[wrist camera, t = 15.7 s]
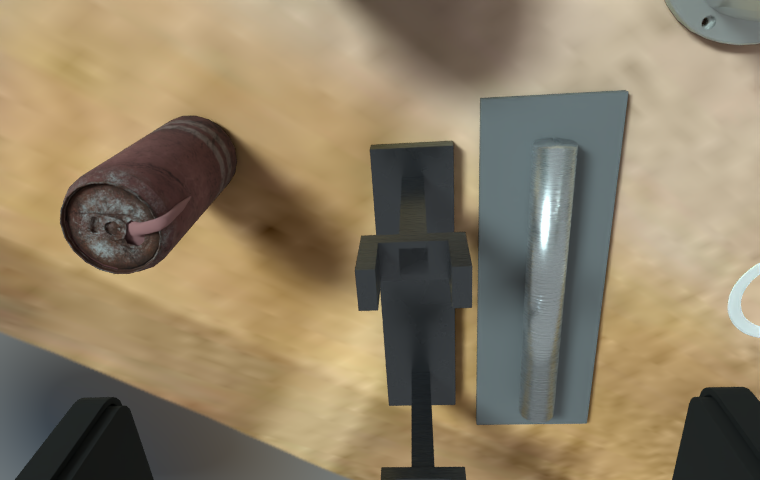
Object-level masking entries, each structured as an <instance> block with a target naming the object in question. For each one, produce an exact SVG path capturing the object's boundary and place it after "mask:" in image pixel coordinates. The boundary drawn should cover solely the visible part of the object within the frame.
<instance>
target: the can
mask: <svg viewBox="0 0 760 480" xmlns="http://www.w3.org/2000/svg"><path fill="white" fill-rule="evenodd" d="M236 164H237V158H236V152H235V148H234V146H233V144H232V142H231V140H230V137H229V136H228V135H227V134H226V133H225V132H224V131H223V129H222V128H221V127H220V126H218V125H216V124H215V123H213V122H212V121H210V120H209V119H205V118H202V117H198V116H181V117H179V118H176V119H173V120H171V121H169V122H168V123H166V124H164V125H163V126H161V127H160V128H158V129H156V130H155V131H153V132H152V133H150V134H148V135H147V136H145V137H144V138H142V139H140V140H139V141H137V142H135V143H134V144H132V145H131V146H129V147H127V148H126V149H124V150H123V151H121V152H119V153H118V154H116V155H115V156H113V157H111V158H110V159H108V160H107V161H105V162H103V163H102V164H100V165H99V166H97V167H95V168H94V169H92V170H91V171H89V172H87V173H86V174H84V175H82V176H81V177H80V178H79V179H78V180H76V181H75V182H74V183H73V184H72V185H71V186H70V187H69V189H68V191H67V194H66V196H65V198H64V200H63V205H62V207H61V213H60V224H61V228H62V231H63V234H64V237H65V239H66V241H67V242H68V244H69V245H70V247H71V248H72V250H73V251H74V252H75V253H76V254H77V255H78V256H79V257H81V258H82V259H83V260H84V261H85V262H86V263H88V264H90V265H92V266H94V267H96V268H97V269H99V270H102V271H106V272H110V273H114V274H130V273H134V272H139V271H142V270H145V269H148V268H151V267H154V266H155V265H156V264H158V263H159V262H160V261H161V260H163V259H164V258H165V257H166V256H167V255H168V254H169V252H170V251H171V250H172V249H173V248H174V247H175V245H176V244H177V243H178V242H179V241H180V240H181V238H182V237H183V236H184V235H185V234H186V233H187V231H188V230H189V229H190V228H191V227H192V226H193V224H194V223H195V222H196V221H197V220H198V219H199V217H200V216H201V215H202V214H203V213H204V212H205V210H206V209H207V208H208V207H209V206H210V205H211V203H212V202H213V201H214V200H215V199H216V198H217V196H218V195H219V194H220V193H221V192H222V191H223V189H224V188H225V187H226V186H227V185H228V184H229V182H230V181H231V179H232V177H233V175H234V174H235V170H236Z"/></svg>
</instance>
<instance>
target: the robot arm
mask: <svg viewBox="0 0 760 480" xmlns="http://www.w3.org/2000/svg"><path fill="white" fill-rule="evenodd" d="M665 2H666V4H667V6H668V8H669V9H670V10H671V12H672V13H673V14H674V16H675V17H676V19H677V20H678V21H679V22H681V23H682V24H683V25H684V26H685V27H686V28H688V29H689V30H690V31H691V32H693V33H695V34H697V35H699V36H701V37H703V38H705V39H709V40H712V41H716V42H719V43H726V44H733V45H751V44H760V0H665ZM704 18H705V19H706V22H705V24H704V25H702V21H703V19H704ZM15 480H153V477H152V473H151V471H150V467H149V464H148V461H147V459H146V455H145V452H144V449H143V446H142V443H141V441H140V438H139V434H138V432H137V429H136V426H135V423H134V420H133V417H132V414H131V411H130V409H129V408H128V407H127V406H122V404H121V402H120V400H119V399H117V398H114V397H100V398H81V399H79V400H77V402H75V403H74V404H73V406H72V407H71V408H70V409H69V411H68V412H67V413H66V415H65V416H64V417H63V418H62V420H61V421H60V422H59V424H58V425H57V426H56V428H55V429H54V430H53V431H52V433H51V434H50V435H49V436H48V438H47V439H46V440H45V442H44V443H43V444H42V446H41V447H40V448H39V449H38V451H37V452H36V453H35V454H34V456H33V457H32V459H31V460H30V461H29V462H28V463H27V465H26V466H25V467H24V469H23V470H22V471H21V472H20V474H19V475H18V476H17V478H16V479H15ZM672 480H760V402H759V400H758V399H757V398H756V397H755V395H754V394H753V393H752V392H751V391H750V390H749V389H747V388H745V387H708V388H704V389H703V390H702V391H701V394H700V396H699V397H693V398H692V399H691V401H690V403H689V408H688V412H687V416H686V421H685V425H684V430H683V434H682V439H681V443H680V447H679V452H678V456H677V461H676V465H675V469H674V474H673V478H672Z"/></svg>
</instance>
